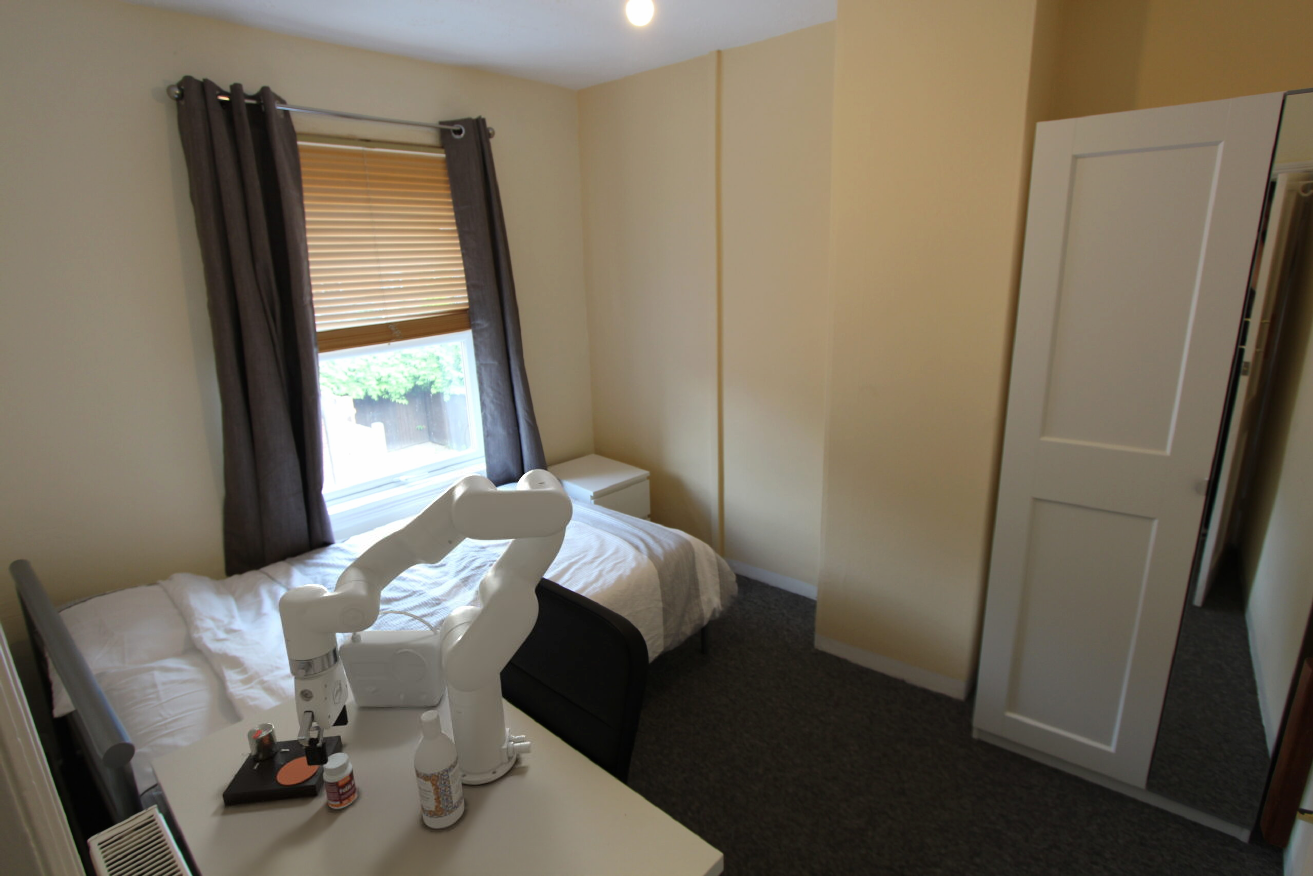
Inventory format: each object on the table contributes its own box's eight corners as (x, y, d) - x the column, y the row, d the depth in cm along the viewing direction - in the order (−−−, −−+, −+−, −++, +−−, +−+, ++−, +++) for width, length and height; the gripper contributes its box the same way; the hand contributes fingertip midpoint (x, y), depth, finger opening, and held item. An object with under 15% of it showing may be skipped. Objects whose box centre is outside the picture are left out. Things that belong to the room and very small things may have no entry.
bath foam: (414, 820, 114) (398, 722, 108) (445, 792, 119) (431, 697, 114) (443, 836, 110) (427, 735, 105) (473, 807, 116) (460, 709, 111)
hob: (345, 741, 134) (342, 730, 133) (317, 796, 120) (315, 784, 119) (255, 750, 132) (252, 739, 131) (217, 807, 118) (214, 794, 118)
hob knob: (259, 745, 130) (253, 722, 128) (282, 743, 130) (277, 720, 129) (247, 762, 125) (242, 738, 124) (272, 759, 126) (266, 736, 124)
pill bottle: (346, 811, 116) (338, 772, 114) (322, 808, 117) (314, 768, 115) (363, 790, 121) (356, 752, 118) (340, 787, 122) (332, 749, 119)
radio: (343, 713, 142) (324, 609, 135) (361, 689, 150) (343, 589, 143) (443, 712, 141) (428, 607, 134) (456, 688, 149) (443, 588, 142)
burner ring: (325, 755, 126) (324, 754, 126) (310, 783, 120) (310, 782, 120) (286, 759, 126) (286, 758, 126) (270, 787, 119) (269, 786, 119)
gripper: (317, 687, 103) (333, 778, 108) (354, 628, 120) (366, 710, 124) (267, 691, 103) (284, 783, 107) (311, 631, 119) (325, 713, 124)
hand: (329, 743), depth 116 cm, fingers open, 9 cm apart
